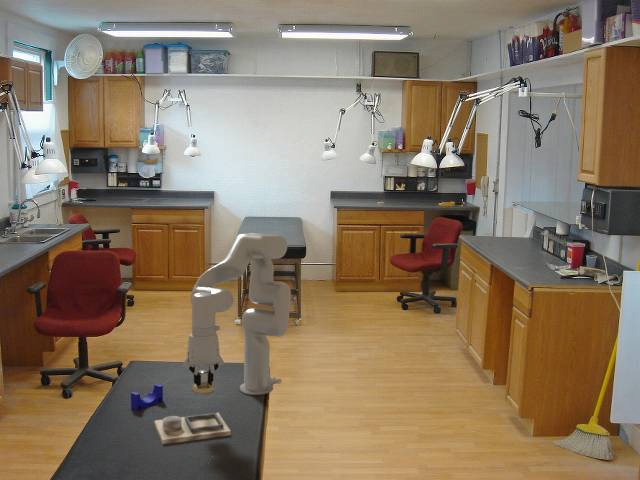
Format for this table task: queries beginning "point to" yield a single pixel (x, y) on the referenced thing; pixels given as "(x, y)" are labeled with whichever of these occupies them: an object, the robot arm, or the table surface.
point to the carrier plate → (191, 428)
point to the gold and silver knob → (203, 383)
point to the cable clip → (147, 398)
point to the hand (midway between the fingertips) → (203, 384)
